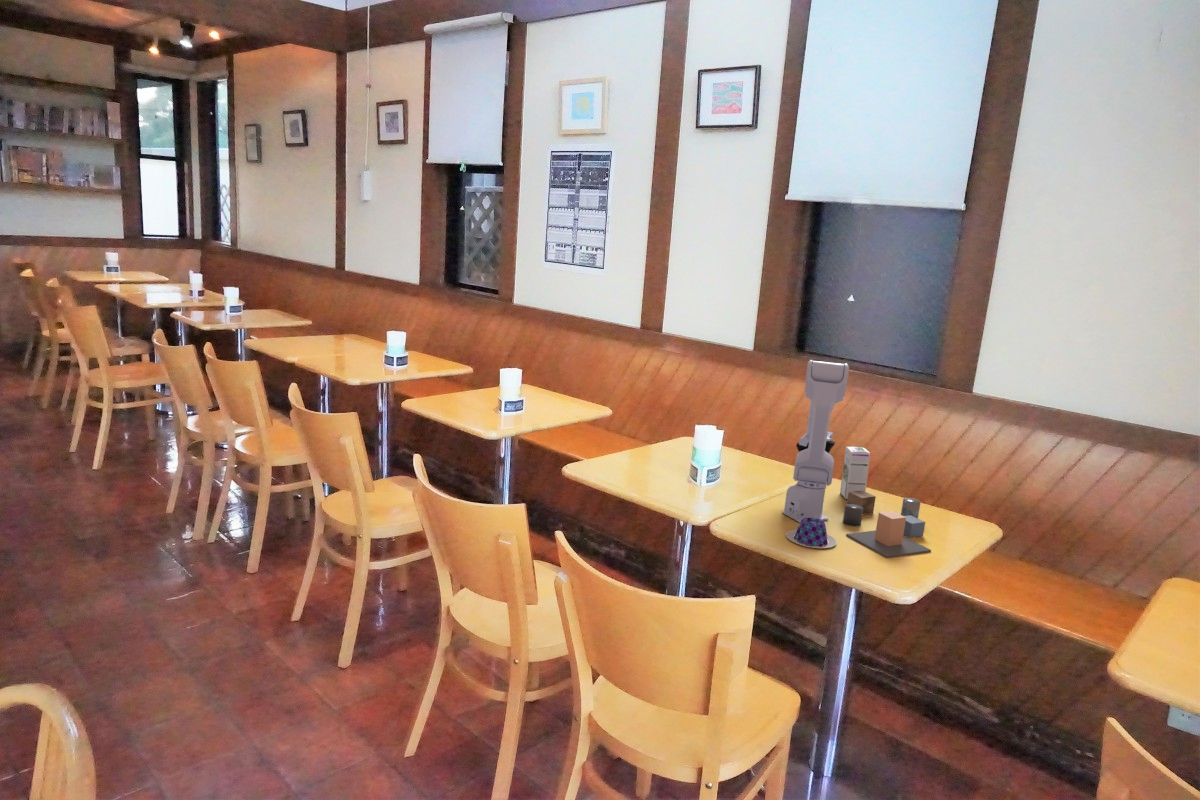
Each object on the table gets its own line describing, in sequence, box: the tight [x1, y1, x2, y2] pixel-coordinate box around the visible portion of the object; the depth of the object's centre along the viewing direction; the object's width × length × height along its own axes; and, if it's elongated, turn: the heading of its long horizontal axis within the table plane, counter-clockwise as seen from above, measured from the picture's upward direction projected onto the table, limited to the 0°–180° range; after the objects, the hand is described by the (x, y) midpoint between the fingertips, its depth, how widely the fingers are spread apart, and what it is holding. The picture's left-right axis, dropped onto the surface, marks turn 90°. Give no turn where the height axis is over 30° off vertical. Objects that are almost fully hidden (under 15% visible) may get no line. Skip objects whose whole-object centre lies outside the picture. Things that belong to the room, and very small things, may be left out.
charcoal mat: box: [845, 529, 932, 559], centre depth 196 cm, size 14×14×1 cm
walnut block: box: [846, 490, 877, 515], centre depth 218 cm, size 5×5×5 cm
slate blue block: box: [903, 515, 926, 539], centre depth 204 cm, size 4×5×4 cm
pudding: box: [785, 518, 837, 549], centre depth 194 cm, size 12×12×5 cm
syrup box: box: [839, 446, 871, 500], centre depth 229 cm, size 6×6×14 cm
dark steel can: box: [900, 497, 922, 519], centre depth 214 cm, size 4×4×6 cm
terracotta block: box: [875, 510, 906, 546], centre depth 195 cm, size 4×4×7 cm
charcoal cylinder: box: [842, 503, 863, 527], centre depth 209 cm, size 5×5×4 cm
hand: (812, 466), depth 224 cm, fingers open, 7 cm apart
